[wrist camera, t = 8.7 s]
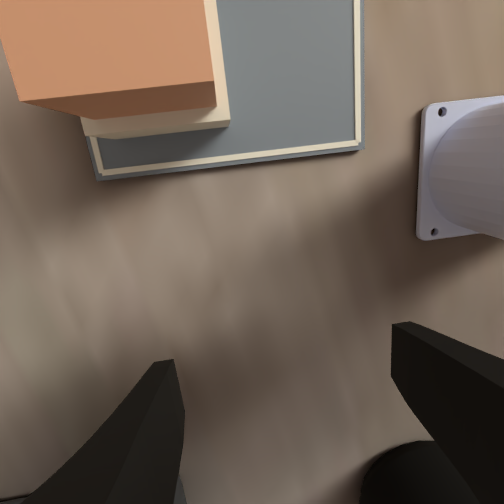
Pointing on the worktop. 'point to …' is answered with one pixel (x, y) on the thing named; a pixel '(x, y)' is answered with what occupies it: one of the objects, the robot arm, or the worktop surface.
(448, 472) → the coffee jar
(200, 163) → the board
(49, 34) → the terracotta block
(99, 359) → the worktop surface
